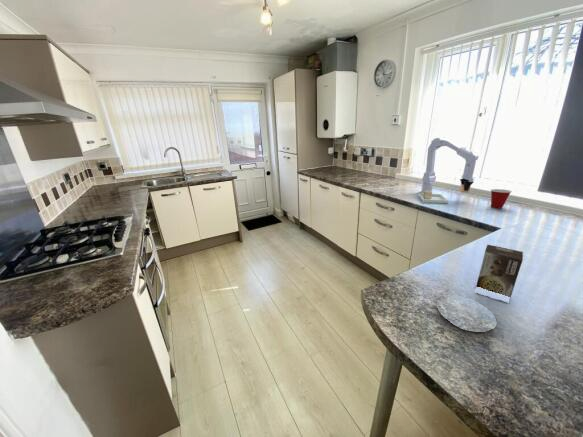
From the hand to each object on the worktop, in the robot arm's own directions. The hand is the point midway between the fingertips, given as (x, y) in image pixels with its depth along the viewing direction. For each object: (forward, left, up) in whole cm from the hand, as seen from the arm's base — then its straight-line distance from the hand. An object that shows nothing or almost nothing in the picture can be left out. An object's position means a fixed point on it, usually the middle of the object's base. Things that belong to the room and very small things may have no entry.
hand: (464, 189), depth 176 cm
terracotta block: (0, 0, -2) cm, 2 cm away
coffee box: (+116, -28, -9) cm, 120 cm away
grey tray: (+1, -20, -8) cm, 22 cm away
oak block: (-2, -23, -8) cm, 24 cm away
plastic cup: (+13, +16, -9) cm, 22 cm away
